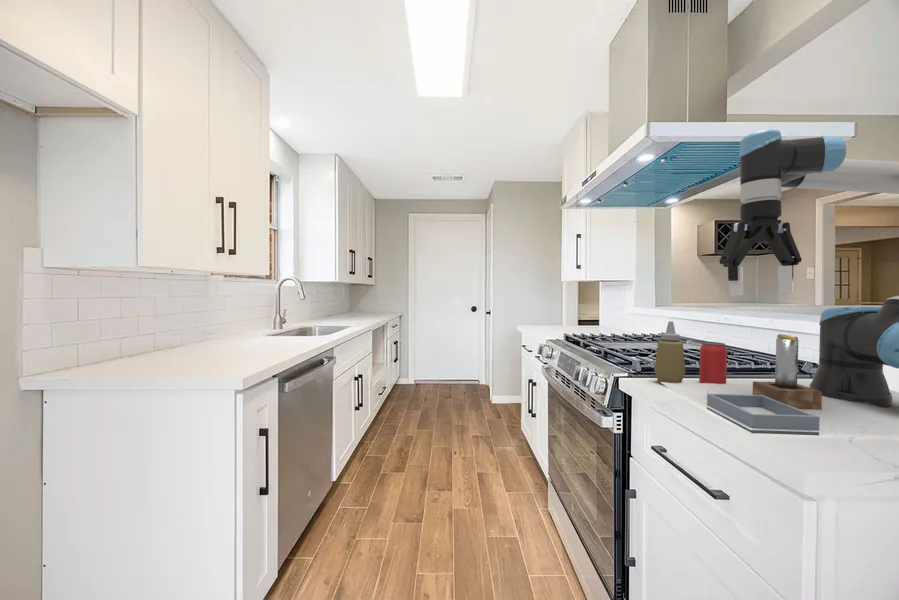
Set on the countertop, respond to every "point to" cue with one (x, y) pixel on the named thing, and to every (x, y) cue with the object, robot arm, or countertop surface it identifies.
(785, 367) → the steel pin
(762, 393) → the block
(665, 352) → the squeeze bottle
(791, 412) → the tray
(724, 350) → the beer can
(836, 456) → the countertop surface
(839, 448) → the countertop surface
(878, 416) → the countertop surface
